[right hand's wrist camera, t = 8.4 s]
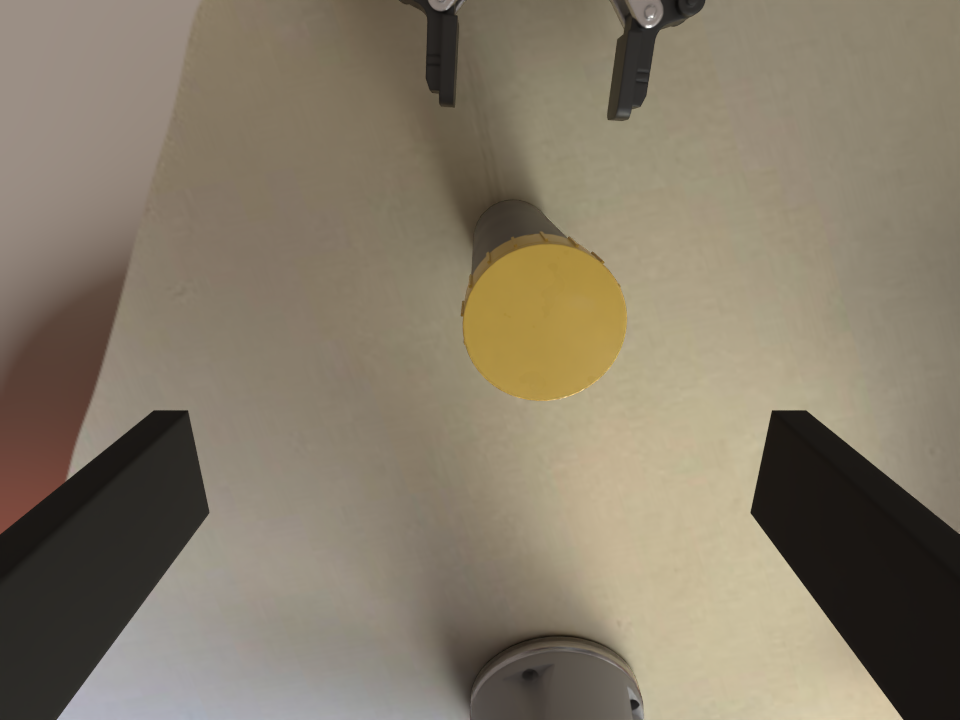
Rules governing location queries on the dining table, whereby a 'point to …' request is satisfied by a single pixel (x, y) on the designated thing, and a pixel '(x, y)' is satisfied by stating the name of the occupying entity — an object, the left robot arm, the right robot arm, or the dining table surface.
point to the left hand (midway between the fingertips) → (533, 113)
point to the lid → (543, 317)
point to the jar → (507, 227)
